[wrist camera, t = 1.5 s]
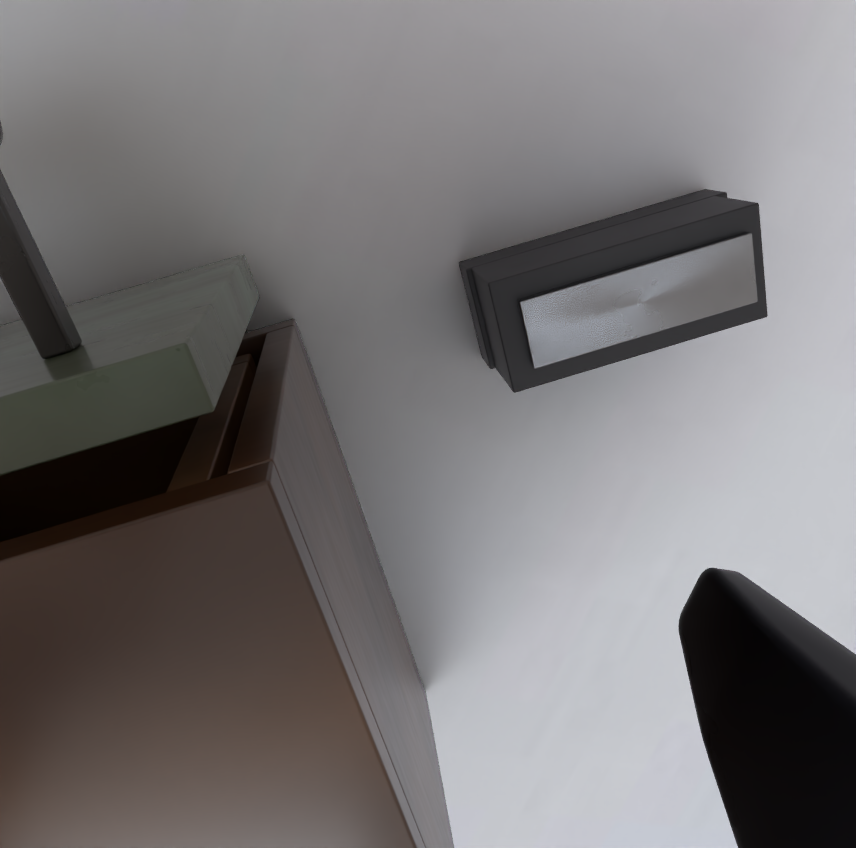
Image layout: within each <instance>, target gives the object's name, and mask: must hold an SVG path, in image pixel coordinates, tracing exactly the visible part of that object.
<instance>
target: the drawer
mask: <svg viewBox="0 0 856 848" xmlns="http://www.w3.org/2000/svg"><path fill="white" fill-rule="evenodd" d="M2 139H3V132H2V126H1V122H0V145H1V143H2ZM0 277H1V279H2V281H3V283H4V285H5V287H6V289H7V291H8V293H9V295H10V297H11V299H12V301H13V303H14V305H15V307H16V309H17V311H18V313H19V315H20V317H21V319H22V320H18V321H15V322H12V323H8V324H5V325H1V326H0V542H4V541H7V540H10V539H14V538H17V537H20V536H24V535H27V534H30V533H34V532H37V531H40V530H44V529H47V528H50V527H53V526H57V525H60V524H63V523H67V522H70V521H73V520H77V519H80V518H83V517H87V516H90V515H93V514H97V513H100V512H103V511H107V510H110V509H113V508H117V507H120V506H123V505H127V504H130V503H133V502H137V501H140V500H143V499H147V498H150V497H153V496H157V495H160V494H163V493H166V492H170V491H173V490H176V489H180V488H183V487H186V486H190V485H193V484H196V483H200V482H203V481H206V480H210V479H213V478H216V477H220V476H223V475H226V474H227V472H228V468H229V465H230V461H231V458H232V454H233V451H234V447H235V444H236V440H237V437H238V433H239V430H240V426H241V422H242V419H243V415H244V412H245V408H246V405H247V401H248V398H249V394H250V391H251V387H252V384H253V380H254V377H255V373H256V370H257V368H256V365H255V362H254V360H253V357H252V355H251V354H245V355H242V356H238V357H236V354H237V352H238V349H239V347H240V344H241V342H242V339H243V337H244V334H245V332H246V329H247V327H248V324H249V322H250V319H251V316H252V314H253V311H254V309H255V306H256V304H257V301H258V299H259V294H258V291H257V288H256V285H255V283H254V280H253V277H252V274H251V272H250V269H249V266H248V264H247V261H246V258H245V256H244V255H239V256H236V257H232V258H229V259H226V260H222V261H219V262H215V263H212V264H209V265H205V266H202V267H198V268H195V269H192V270H188V271H185V272H181V273H178V274H175V275H171V276H168V277H164V278H161V279H158V280H154V281H151V282H147V283H144V284H141V285H137V286H134V287H130V288H127V289H124V290H120V291H117V292H113V293H110V294H107V295H103V296H100V297H96V298H93V299H90V300H86V301H83V302H79V303H76V304H73V305H69V306H65V304H64V302H63V300H62V298H61V296H60V294H59V291H58V289H57V287H56V285H55V283H54V281H53V279H52V277H51V275H50V273H49V271H48V268H47V266H46V264H45V262H44V260H43V258H42V256H41V254H40V252H39V250H38V248H37V245H36V243H35V241H34V239H33V237H32V235H31V233H30V231H29V229H28V227H27V225H26V222H25V220H24V218H23V216H22V214H21V212H20V210H19V208H18V206H17V204H16V201H15V199H14V197H13V195H12V193H11V191H10V189H9V187H8V185H7V183H6V181H5V178H4V176H3V174H2V172H1V170H0Z"/></svg>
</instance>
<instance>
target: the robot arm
mask: <svg viewBox="0 0 856 848" xmlns="http://www.w3.org/2000/svg"><path fill="white" fill-rule="evenodd" d="M679 635H680V640H681V644H682V649H683V653H684V658H685V662H686V667H687V672H688V676H689V681H690V685H691V690H692V694H693V699H694V703H695V708H696V712H697V717H698V722H699V726H700V729H701V733H702V737H703V741H704V744H705V748H706V751H707V754H708V758H709V761H710V764H711V767H712V770H713V773H714V776H715V779H716V782H717V785H718V788H719V791H720V794H721V797H722V800H723V803H724V806H725V809H726V812H727V815H728V818H729V821H730V825H731V828H732V831H733V834H734V837H735V840H736V843H737V846H738V848H856V654H854V653H853V652H851V651H850V650H849V649H847V648H846V647H844V646H843V645H842V644H840V643H839V642H837V641H836V640H834V639H833V638H832V637H830V636H829V635H827V634H826V633H824V632H823V631H822V630H820V629H819V628H817V627H816V626H815V625H813V624H812V623H810V622H809V621H807V620H806V619H805V618H803V617H802V616H800V615H799V614H798V613H796V612H795V611H793V610H792V609H790V608H789V607H788V606H786V605H785V604H783V603H782V602H780V601H779V600H778V599H776V598H775V597H773V596H772V595H771V594H769V593H768V592H766V591H765V590H763V589H762V588H761V587H759V586H758V585H756V584H755V583H754V582H752V581H751V580H749V579H748V578H746V577H745V576H744V575H742V574H740V573H738V572H735V571H730V570H724V569H717V568H709V569H706V570H705V571H704V572H703V573H702V574H701V575H700V577H699V579H698V581H697V583H696V585H695V587H694V588H693V590H692V592H691V594H690V596H689V598H688V600H687V602H686V604H685V606H684V608H683V610H682V612H681V615H680V619H679Z"/></svg>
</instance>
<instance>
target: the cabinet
mask: <svg viewBox="0 0 856 848" xmlns="http://www.w3.org/2000/svg"><path fill="white" fill-rule="evenodd" d="M245 354H251V355H252V357H253V360H254V362H255V365H256V368H257V370H256V373H255V377H254V380H253V384H252V387H251V391H250V394H249V398H248V401H247V405H246V408H245V412H244V415H243V419H242V422H241V426H240V430H239V433H238V437H237V440H236V444H235V447H234V451H233V454H232V458H231V461H230V465H229V468H228V472H227V474H226V475H223V476H220V477H216V478H213V479H210V480H206V481H203V482H200V483H196V484H193V485H190V486H186V487H183V488H180V489H176V490H173V491H170V492H166V493H163V494H160V495H157V496H153V497H150V498H147V499H143V500H140V501H137V502H133V503H130V504H127V505H123V506H120V507H117V508H113V509H110V510H107V511H103V512H100V513H97V514H93V515H90V516H87V517H83V518H80V519H77V520H73V521H70V522H67V523H63V524H60V525H57V526H53V527H50V528H47V529H44V530H40V531H37V532H34V533H30V534H27V535H24V536H20V537H17V538H14V539H10V540H7V541H4V542H0V848H454V844H453V838H452V833H451V827H450V822H449V816H448V811H447V805H446V800H445V794H444V789H443V783H442V778H441V773H440V767H439V762H438V756H437V751H436V745H435V740H434V734H433V729H432V723H431V718H430V712H429V707H428V701H427V696H426V692H425V689H424V686H423V683H422V681H421V678H420V675H419V672H418V669H417V666H416V663H415V660H414V658H413V655H412V652H411V649H410V646H409V643H408V640H407V638H406V635H405V632H404V629H403V626H402V623H401V620H400V618H399V615H398V612H397V609H396V606H395V603H394V600H393V598H392V595H391V592H390V589H389V586H388V583H387V580H386V578H385V575H384V572H383V569H382V566H381V563H380V560H379V558H378V555H377V552H376V549H375V546H374V543H373V540H372V538H371V535H370V532H369V529H368V526H367V523H366V520H365V518H364V515H363V512H362V509H361V506H360V503H359V500H358V498H357V495H356V492H355V489H354V486H353V483H352V480H351V478H350V475H349V472H348V469H347V466H346V463H345V460H344V458H343V455H342V452H341V449H340V446H339V443H338V440H337V438H336V435H335V432H334V429H333V426H332V423H331V420H330V418H329V415H328V412H327V409H326V406H325V403H324V400H323V398H322V395H321V392H320V389H319V386H318V383H317V380H316V378H315V375H314V372H313V369H312V366H311V363H310V360H309V358H308V355H307V352H306V349H305V346H304V343H303V340H302V337H301V335H300V332H299V329H298V326H297V323H296V320H295V319H291V320H288V321H284V322H281V323H277V324H274V325H271V326H267V327H264V328H261V329H257V330H254V331H251V332H247V333H245V334H244V337H243V339H242V342H241V344H240V347H239V349H238V352H237V354H236V357H238V356H242V355H245Z"/></svg>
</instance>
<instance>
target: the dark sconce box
mask: <svg viewBox="0 0 856 848" xmlns="http://www.w3.org/2000/svg"><path fill="white" fill-rule="evenodd" d="M459 266H460V270H461V274H462V278H463V282H464V286H465V290H466V294H467V298H468V302H469V306H470V310H471V314H472V319H473V323H474V327H475V331H476V335H477V339H478V343H479V347H480V351H481V355H482V358H483V359H484V360H485V362H486V363H487V365H488V366H489V368H490V369H493V368H496V369H497V370H498V372H499V373H500V374H501V376H502V377H503V379H504V380H505V381H506V383H507V384H508V385H509V387H510V388H511V390H512V391H513V392H518V391H522V390H525V389H528V388H532V387H535V386H538V385H542V384H545V383H548V382H552V381H555V380H558V379H562V378H565V377H568V376H572V375H575V374H578V373H582V372H585V371H588V370H592V369H595V368H598V367H601V366H605V365H608V364H611V363H615V362H618V361H621V360H625V359H628V358H631V357H635V356H638V355H641V354H645V353H648V352H651V351H655V350H658V349H661V348H665V347H668V346H671V345H675V344H678V343H681V342H685V341H688V340H691V339H695V338H698V337H701V336H705V335H708V334H711V333H715V332H718V331H721V330H725V329H728V328H731V327H734V326H738V325H741V324H744V323H748V322H751V321H754V320H758V319H761V318H764V317H767V304H766V291H765V279H764V266H763V253H762V241H761V228H760V216H759V204H758V203H754V202H748V201H742V200H736V199H730V198H727V193H726V192H720V191H713V190H707V189H705V190H701V191H698V192H695V193H691V194H688V195H684V196H681V197H678V198H674V199H671V200H668V201H664V202H661V203H657V204H654V205H651V206H647V207H644V208H641V209H637V210H634V211H630V212H627V213H624V214H620V215H617V216H614V217H610V218H607V219H603V220H600V221H597V222H593V223H590V224H587V225H583V226H580V227H576V228H573V229H570V230H566V231H563V232H560V233H556V234H553V235H549V236H546V237H543V238H539V239H536V240H533V241H529V242H526V243H522V244H519V245H516V246H512V247H509V248H506V249H502V250H499V251H495V252H492V253H489V254H485V255H482V256H479V257H475V258H472V259H468V260H465V261H462V262H460V263H459Z"/></svg>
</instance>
